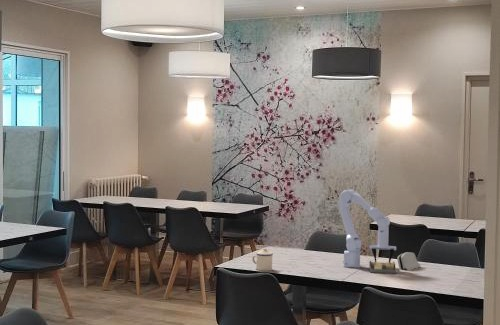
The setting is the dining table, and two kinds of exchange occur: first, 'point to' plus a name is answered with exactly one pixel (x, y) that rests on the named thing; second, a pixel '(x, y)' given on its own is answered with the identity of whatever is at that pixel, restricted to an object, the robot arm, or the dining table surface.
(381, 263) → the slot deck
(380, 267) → the wooden cube
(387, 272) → the tray
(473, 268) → the dining table surface
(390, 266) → the tan wooden cube
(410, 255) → the light grey rounded slab
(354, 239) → the robot arm
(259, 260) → the teacup with lid
